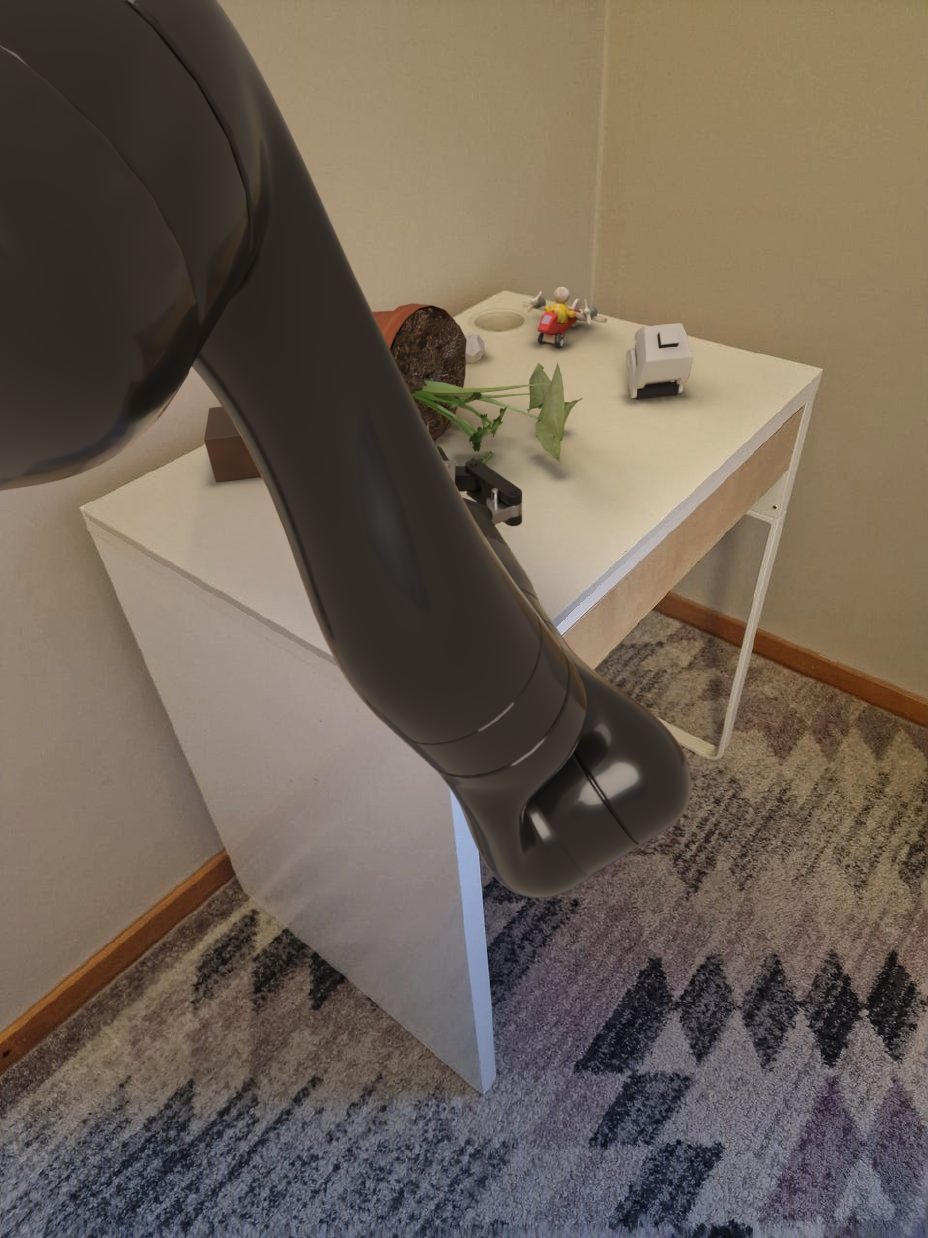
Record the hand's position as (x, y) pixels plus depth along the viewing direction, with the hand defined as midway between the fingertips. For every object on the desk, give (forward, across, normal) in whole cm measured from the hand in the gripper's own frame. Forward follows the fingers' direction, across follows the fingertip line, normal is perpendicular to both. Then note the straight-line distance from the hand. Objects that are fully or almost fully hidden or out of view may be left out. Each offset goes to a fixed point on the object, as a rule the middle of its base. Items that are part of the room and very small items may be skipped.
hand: (392, 459), depth 64 cm
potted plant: (+22, -13, +13) cm, 29 cm away
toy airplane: (+44, -34, +13) cm, 57 cm away
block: (+29, +10, +13) cm, 33 cm away
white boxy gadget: (+24, -36, +13) cm, 46 cm away
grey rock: (+43, -20, +13) cm, 49 cm away
